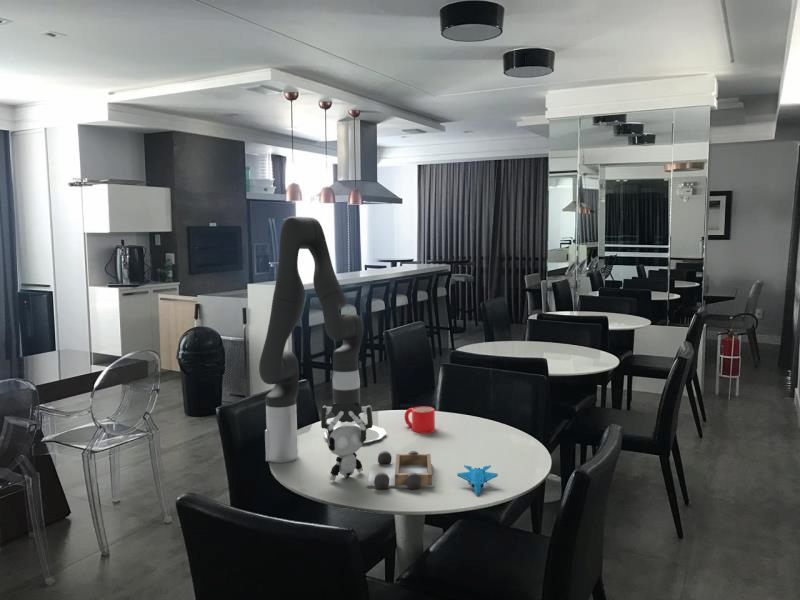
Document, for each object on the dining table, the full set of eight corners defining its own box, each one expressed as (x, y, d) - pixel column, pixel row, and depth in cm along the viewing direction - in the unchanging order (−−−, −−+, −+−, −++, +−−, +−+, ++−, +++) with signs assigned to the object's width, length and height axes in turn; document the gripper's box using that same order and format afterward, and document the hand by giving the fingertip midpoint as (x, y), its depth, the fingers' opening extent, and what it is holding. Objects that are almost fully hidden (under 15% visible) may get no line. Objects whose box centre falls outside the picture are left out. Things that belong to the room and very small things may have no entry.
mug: (410, 425, 237) (410, 403, 236) (439, 430, 230) (438, 408, 229) (398, 430, 231) (397, 408, 230) (426, 436, 224) (426, 413, 223)
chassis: (366, 489, 177) (366, 475, 176) (371, 464, 197) (371, 451, 196) (434, 489, 176) (433, 475, 176) (431, 463, 196) (431, 450, 196)
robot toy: (334, 485, 180) (333, 432, 179) (325, 480, 184) (324, 428, 182) (369, 474, 188) (369, 423, 187) (360, 470, 192) (359, 419, 190)
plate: (312, 437, 225) (312, 432, 225) (360, 425, 238) (360, 420, 238) (349, 451, 209) (348, 446, 209) (398, 438, 223) (398, 433, 223)
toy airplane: (453, 482, 182) (452, 467, 181) (482, 475, 186) (482, 460, 185) (477, 496, 171) (476, 481, 171) (508, 488, 176) (507, 473, 175)
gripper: (318, 389, 180) (320, 447, 181) (370, 388, 180) (372, 446, 181) (322, 383, 187) (323, 438, 189) (372, 382, 187) (373, 438, 189)
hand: (347, 442), depth 185 cm, fingers open, 8 cm apart
